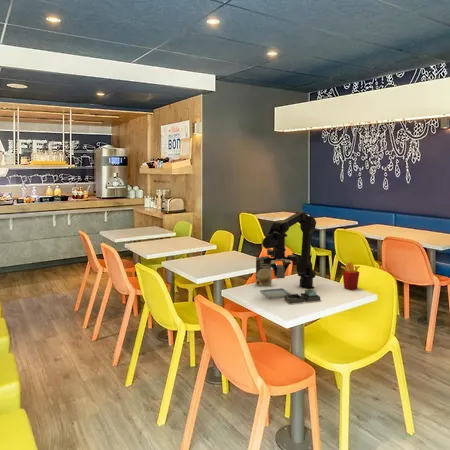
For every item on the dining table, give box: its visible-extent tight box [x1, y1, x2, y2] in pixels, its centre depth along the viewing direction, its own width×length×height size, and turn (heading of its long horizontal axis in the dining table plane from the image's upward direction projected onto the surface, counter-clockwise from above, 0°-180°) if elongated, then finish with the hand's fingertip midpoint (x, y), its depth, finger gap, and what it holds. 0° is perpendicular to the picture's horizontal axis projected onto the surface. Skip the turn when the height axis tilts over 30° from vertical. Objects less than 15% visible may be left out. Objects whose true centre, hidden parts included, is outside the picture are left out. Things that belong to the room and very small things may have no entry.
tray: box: [259, 287, 291, 300], centre depth 230 cm, size 13×13×2 cm
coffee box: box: [255, 257, 273, 287], centre depth 247 cm, size 9×6×16 cm
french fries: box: [340, 260, 361, 291], centre depth 239 cm, size 9×8×15 cm
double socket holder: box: [282, 289, 323, 306], centre depth 219 cm, size 18×8×5 cm, turn 104°
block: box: [273, 264, 286, 279], centre depth 225 cm, size 4×5×6 cm
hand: (279, 275), depth 226 cm, fingers closed on block, 4 cm apart
